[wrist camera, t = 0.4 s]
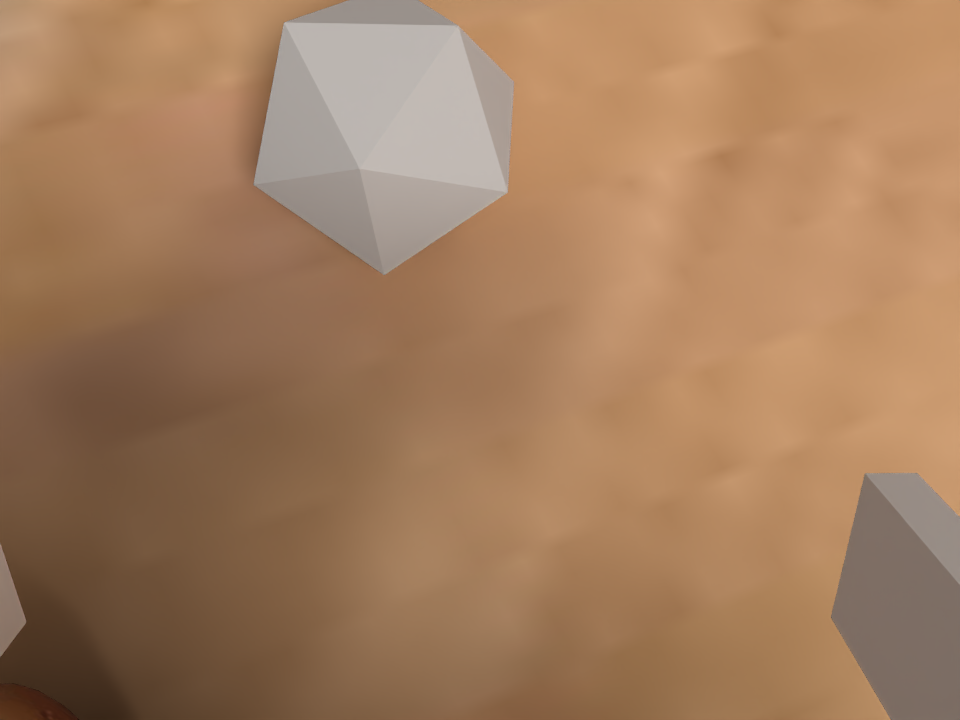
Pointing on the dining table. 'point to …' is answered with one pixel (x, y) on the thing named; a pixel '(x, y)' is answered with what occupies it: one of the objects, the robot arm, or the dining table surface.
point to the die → (384, 127)
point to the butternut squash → (30, 705)
